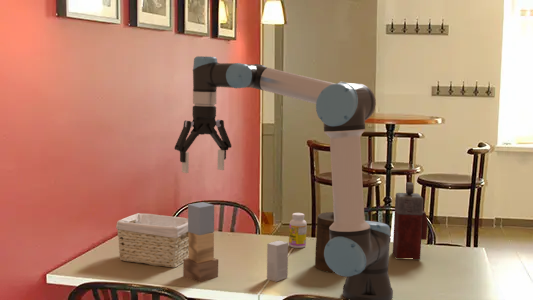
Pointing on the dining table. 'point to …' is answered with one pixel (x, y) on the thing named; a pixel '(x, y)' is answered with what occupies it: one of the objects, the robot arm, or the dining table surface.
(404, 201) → the red square decanter
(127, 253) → the storage basket
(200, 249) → the oak block
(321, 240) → the wooden container
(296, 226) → the supplement bottle
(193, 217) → the blue block
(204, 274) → the base block
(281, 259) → the skincare box
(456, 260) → the dining table surface
